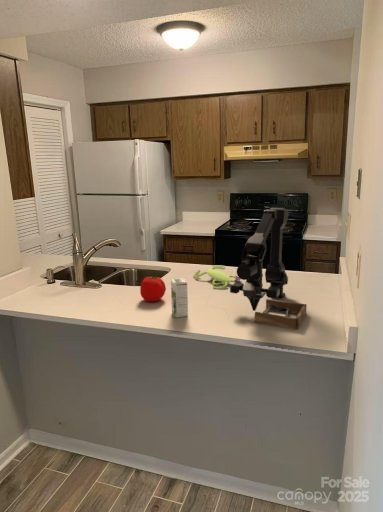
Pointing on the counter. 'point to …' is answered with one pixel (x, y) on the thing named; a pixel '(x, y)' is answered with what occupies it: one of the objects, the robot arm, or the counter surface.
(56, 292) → the counter surface
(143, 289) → the tomato
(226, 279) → the figurine
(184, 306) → the white tall box
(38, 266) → the counter surface
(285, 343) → the counter surface
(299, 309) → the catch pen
